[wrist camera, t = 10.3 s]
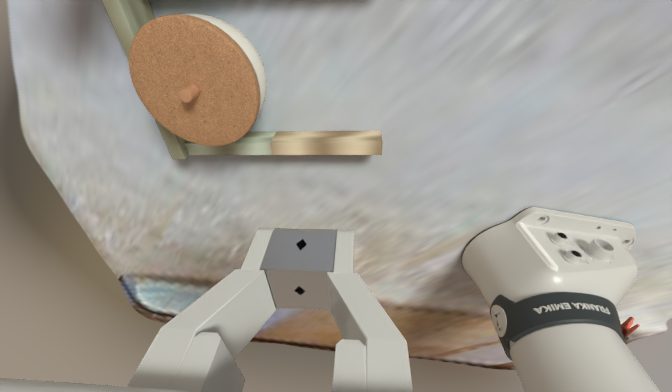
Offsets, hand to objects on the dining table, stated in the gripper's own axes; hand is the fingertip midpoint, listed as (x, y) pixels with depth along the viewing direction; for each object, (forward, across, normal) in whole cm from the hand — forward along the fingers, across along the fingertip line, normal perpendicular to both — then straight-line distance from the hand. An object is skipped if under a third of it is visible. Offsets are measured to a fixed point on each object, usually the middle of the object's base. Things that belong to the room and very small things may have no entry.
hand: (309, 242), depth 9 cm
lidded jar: (+25, +12, 0) cm, 28 cm away
